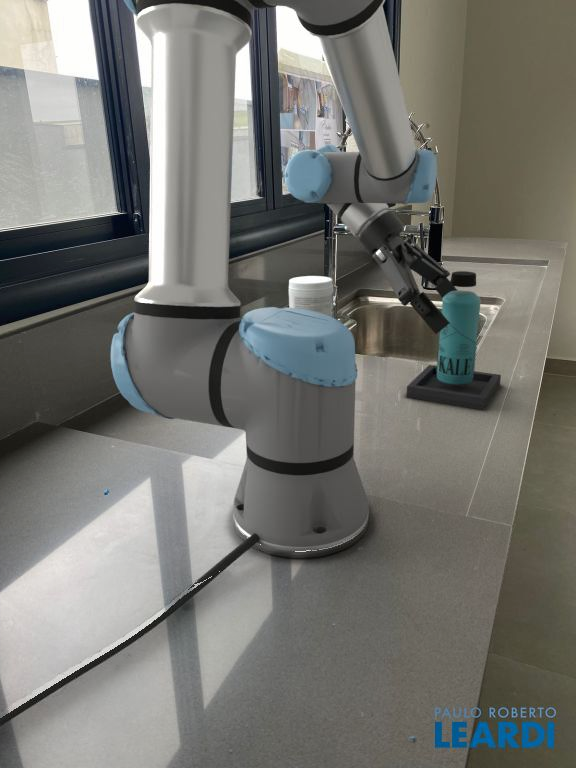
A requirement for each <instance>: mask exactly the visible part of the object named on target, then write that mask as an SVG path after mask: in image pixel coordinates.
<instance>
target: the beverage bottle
mask: <svg viewBox="0 0 576 768" xmlns="http://www.w3.org/2000/svg"><path fill="white" fill-rule="evenodd" d="M450 275H451V276H450V280H449V281H450V285H452V286H454V287H455V288H456V287H457V288H472V287H476V286H477V273H476V272H473V271H466V270H460V271H459V270H458V271H453V272H451V274H450ZM457 290H458V289H457ZM441 301H442V302H441V303H442V304H441V305H442V306H441V313H442V314H443V315H444V317H445V318H446V319H447V320H448V321H449V322H450V323H449V324H448V325H447V326H446V327H444V328H443V329H442V330H441V331H439V338H438V343H437V345H438V347H437V349H438V350H437V354H436V365H435V366H436V369H437V371H436V372H437V374H436V375H437V378H438V380H440V381H442V382H445V383H449V384H467V383H470V382H471V381H472V380H473V378H474V377H473V376H474V374H475V373H474V371H475V369H476V366H477V365H476V359H477V357H476V356H477V352H478V351H477V350H478V349H477V346H478V343H477V340H478V330H479V321H480V313H481V304H482V299H481V298H480V297H479V296H478V294H477V293H476V292H474V291H470V290H458V291H451V292H449V293H447V294H446V295H445V296H444V297H443V298H441Z"/></svg>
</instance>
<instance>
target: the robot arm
mask: <svg viewBox="0 0 576 768" xmlns="http://www.w3.org/2000/svg"><path fill="white" fill-rule="evenodd" d="M123 1H124V3H125V5H126V7H127V8H128V9H129V10H130V11H131V13H132V14H133V15H134V16H135V17H136V19H135V21H136V27H137V29H138V30H139V32H140V33H141V34H142V35H143V36H144V37H145V38H146V40H147V41H148V42H149V44H150V45H151V63H150V64H151V66H150V67H151V68H150V69H151V72H150V74H151V79H150V153H149V154H150V156H149V157H150V158H149V159H150V160H149V168H150V169H149V232H148V233H149V235H148V236H149V238H148V241H149V243H148V282H147V284H146V286H145V287H144V288H143V289H142V290H140V291H139V292H138V293H137V294H136V295H135V296H134V301H133V312H132V313H128V314H127V315H126V316H124V318H123V319H122V320H121V321H119V323H118V326H117V331H118V332H116V333H114V334H113V336H112V339H111V345H110V364H111V365H110V367H111V371H112V376H113V380H114V381H115V385H116V387H117V389H118V391H119V392H120V394H121V396H122V397H123V398H124V399H125V400H126V401H128V403H129V405H131V406H132V407H134V408H135V409H137V410H138V411H142V412H144V413H149V414H153V415H156V416H158V417H160V418H163V419H168V420H176V419H177V420H184V421H189V422H196V423H200V424H208V425H213V426H219V427H224V428H225V427H226V428H231V429H236V430H240V431H241V430H242V431H244V432H245V445H246V447H245V448H246V449H245V450H246V460H245V463H244V467H243V470H242V472H241V476H240V480H239V483H238V486H237V489H236V492H235V494H234V495H235V496H234V498H233V504H232V505H233V507H232V520H233V521H232V522H233V526H234V530H235V532H236V533H237V536H239V538H240V539H241V540H242V541H243V542H241V543H240V544H238V545H237V546H236V547H235V548H234V549H233V550H232V551H230V552H229V553H228V554H227V555H225V556H224V557H223V558H222V559H221V560H219V561H218V562H217V563H216V564H215V565H213V566H212V567H211V568H210V569H209V570H208V571H206V572H205V573H204V574H203V575H202V576H200V577H199V578H198V579H196V581H197V582H196V581H194V582H195V583H194V582H193V583H194V584H197V583H200V582H203V581H204V580H206V579H207V580H206V581H204V582H203V583H201V584H200V585H198V586H197V587H196V588H194V589H193V590H192V591H190V592H189V593H187V594H186V595H184V596H183V597H182V598H181V599H179V600H178V601H177V602H176V603H175V604H174V605H172V606H171V607H170V608H169V609H168V610H167V611H166V612H164V613H163V614H162V615H161V616H160V617H158V618H157V619H156V620H154V621H153V622H152V623H151V624H149V625H148V626H146V627H145V628H144V629H142V630H141V631H139V632H138V633H137V634H135V635H134V636H132V637H131V638H129V639H128V640H126V641H125V642H123V643H121V644H120V645H118V646H117V647H115V648H114V649H112V650H110V651H109V652H107V653H105V654H104V655H102V656H100V657H99V658H97V659H95V660H94V661H92V662H90V663H89V664H87V665H85V666H84V667H82V668H80V669H79V670H77V671H75V672H74V673H72V674H71V675H69V676H67V677H66V678H64V679H62V680H61V681H59V682H58V683H56V684H54V685H53V686H51V687H50V688H48V689H46V690H45V691H43V692H42V693H40V694H38V695H37V696H35V697H34V698H32V699H30V700H29V701H27V702H26V703H24V704H22V705H21V706H19V707H18V708H16V709H14V710H13V711H11V712H10V713H8V714H6V715H5V716H3V717H2V718H0V727H2V726H4V725H5V724H7V723H8V722H9V721H11V720H12V719H15V718H16V717H18V716H19V715H21V714H22V713H24V712H25V711H27V710H28V709H30V708H32V707H33V706H35V705H37V704H38V703H39V702H41V701H43V700H45V699H46V698H47V697H49V696H51V695H52V694H53V693H56V692H57V691H59V690H60V689H62V688H63V687H65V686H67V685H69V683H71V682H73V681H75V680H77V679H78V678H79V677H82V676H83V675H85V674H86V673H87V672H89V671H91V670H92V669H94V668H96V667H98V666H99V665H102V663H104V662H106V661H108V660H109V659H110V658H112V657H114V656H115V655H118V653H120V652H121V651H123V650H125V649H127V647H129V646H131V645H132V644H134V643H135V642H136V641H138V640H139V639H141V638H143V637H144V636H145V635H147V634H148V633H149V632H150V631H152V630H153V629H155V628H156V627H157V626H159V625H160V624H161V623H162V622H164V621H166V620H167V619H168V618H169V617H170V616H171V615H173V614H174V613H175V612H176V611H178V610H179V609H180V608H181V607H182V606H184V605H185V604H186V603H187V602H188V601H189V600H191V599H192V598H193V597H194V596H196V594H198V593H199V592H200V591H201V590H203V589H204V588H205V587H206V586H207V585H209V584H210V583H211V582H212V581H213V580H214V579H216V578H217V577H218V576H220V574H222V573H223V572H224V571H225V570H227V568H229V566H231V565H232V564H233V563H234V562H236V561H237V560H238V559H239V558H240V557H242V556H243V555H244V554H245V553H247V551H249V550H250V549H251V548H254V549H256V550H258V551H261V552H263V553H265V554H269V555H273V556H278V557H284V558H290V559H291V558H293V559H296V558H297V559H309V558H319V557H324V556H328V555H332V554H335V553H338V552H340V551H343V550H346V549H348V548H349V547H351V546H352V545H354V544H355V543H357V542H358V541H359V540H360V539H361V538H362V537H363V536H364V534H365V533H366V531H367V529H368V527H369V526H368V525H369V520H370V519H369V517H370V516H369V515H370V514H369V513H370V508H369V501H368V497H367V494H366V491H365V488H364V485H363V482H362V479H361V476H360V472H359V470H358V467H357V463H356V461H355V458H354V457H355V455H354V454H355V453H354V452H355V451H354V447H355V415H356V380H357V379H358V366H357V363H356V342H355V338H354V335H353V333H352V331H351V330H350V328H348V326H346V325H345V324H344V323H343V322H342V321H340V320H338V319H336V318H335V317H333V318H332V317H330V316H327V315H325V314H321V313H318V312H314V311H310V310H304V309H298V308H289V307H283V308H281V307H276V306H269V307H260V308H255V309H251V310H250V311H248V312H246V313H245V314H244V315H243V316H242V318H241V304H242V303H241V301H240V299H239V298H238V297H237V296H236V295H235V294H234V293H233V292H232V290H231V288H230V287H229V266H230V265H229V260H230V236H231V207H232V206H231V205H232V183H233V182H232V181H233V180H232V179H233V176H232V175H233V153H234V150H233V148H234V124H235V123H234V122H235V121H234V120H235V99H236V98H235V97H236V95H235V94H236V68H237V67H236V65H237V54H238V53H239V52H240V51H241V50H242V49H244V47H245V46H247V45H248V44H249V43H250V41H251V39H252V32H253V31H252V29H253V13H254V11H255V10H263V9H269V8H270V9H271V8H276V7H286V8H289V9H291V10H293V11H294V12H295V13H296V17H297V19H298V21H299V23H300V25H301V27H302V28H303V30H304V31H305V32H306V33H308V34H310V35H311V36H314V37H315V38H316V41H317V44H318V46H319V49H320V51H321V53H322V57H323V59H324V62H325V65H326V68H327V70H328V73H329V75H330V78H331V81H332V83H333V86H334V88H335V91H336V94H337V97H338V99H339V101H340V104H341V107H342V109H343V112H344V115H345V118H346V121H347V123H348V126H349V128H350V131H351V134H352V136H353V139H354V142H355V144H356V147H357V149H358V151H341V150H340V149H339V148H338V147H337V146H336V145H334V144H332V143H331V144H330V143H327V144H325V145H323V146H321V147H319V148H317V149H304V150H303V149H302V150H300V151H298V152H296V153H294V154H293V155H292V156H291V157H290V160H288V162H287V163H286V167H285V169H284V183H285V186H286V188H287V190H288V192H289V193H290V195H291V196H293V198H295V199H297V200H299V201H302V202H303V203H306V204H310V203H312V204H316V203H317V204H325V205H326V206H328V208H329V209H330V210H331V211H332V212H333V214H335V216H336V217H337V218H338V219H339V220H340V221H341V223H342V224H343V225H344V230H345V231H347V232H350V233H351V234H352V236H353V237H354V238H358V243H359V244H360V246H362V248H363V249H364V250H365V251H366V252H367V254H368V255H369V256H372V258H373V260H375V262H376V263H377V265H378V266H379V268H380V269H381V271H382V272H383V275H384V276H385V278H386V280H387V282H388V284H389V285H390V287H391V289H392V291H393V292H394V295H395V297H396V298H397V300H398V301H399V302H400V304H401V305H402V306H404V307H406V306H407V305H408V304H410V307H412V308H413V309H414V311H416V313H417V314H418V315H419V316H420V318H421V319H422V320H423V322H425V323H426V325H427V326H428V327H429V328H430V329H431V331H432V332H433V333H434V334H435V335H437V334H438V333H440V331H441V330H442V329H443V328H444V327H446V326H447V325H448V324H449V323H450V322H449V321H448V320H447V319H446V318H445V317H444V315H443V314H442V311H440V309H439V308H438V307H437V306H436V305H435V303H433V301H432V300H431V298H429V296H428V295H427V294H426V293H425V292H424V291H422V292H421V291H420V289H419V286H418V284H417V281H416V279H415V277H414V274H413V272H414V273H416V274H417V275H419V276H420V277H422V278H423V279H425V280H426V281H428V282H429V283H431V284H432V285H433V286H435V287H434V290H435V291H436V292H437V293H438V294H439V295H440V296H441V297H442V298H441V299H443V297H444V296H445V295H446V294H447V293H449V292H451V291H458V288H456V286H452V285H450V281H451V280H450V279H449V278H448V277H449V276H450V275H451V272H450V270H448V269H445V268H444V267H443V265H441V264H440V263H438V262H437V261H436V260H435V259H434V258H432V257H431V255H429V254H428V253H427V252H426V251H425V250H423V248H421V247H420V246H419V245H418V244H417V243H416V242H415V241H414V240H413V239H412V237H410V236H408V237H406V238H405V239H404V238H402V237H401V236H400V235H401V233H402V232H403V231H404V228H405V225H404V223H403V221H401V220H400V218H399V217H398V216H397V215H396V214H395V212H394V211H392V210H389V204H393V205H394V204H396V205H397V204H398V205H399V204H400V205H405V206H406V205H408V204H425V203H428V202H429V201H430V200H431V199H432V198H433V196H434V193H435V189H436V186H437V185H436V184H437V177H438V174H437V173H438V164H437V156H436V154H435V152H434V151H432V150H430V149H422V148H416V144H415V139H414V134H413V131H412V126H411V122H410V118H409V113H408V109H407V105H406V102H405V95H404V93H403V92H404V91H403V88H402V83H401V79H400V75H399V71H398V70H399V69H398V67H397V66H398V65H397V62H396V57H395V54H394V49H393V46H392V40H391V36H390V32H389V28H388V23H387V19H386V14H385V11H384V7H383V6H384V4H385V2H386V0H123ZM412 271H413V272H412ZM234 522H235V523H234ZM366 523H367V524H366ZM235 524H236V525H235ZM365 525H366V526H365ZM236 526H237V527H236ZM364 526H365V527H364ZM363 528H364V529H363ZM362 529H363V530H362ZM239 530H240V531H241V532H242V533H243V534H244V535H243V534H242V533H241V532H240V531H239ZM361 530H362V531H361ZM360 531H361V532H360ZM359 532H360V533H359ZM358 533H359V534H358ZM357 534H358V535H357ZM355 535H357V536H355ZM353 536H355V537H354V538H353V539H351V540H349V541H347V542H345V543H343V541H346V540H348V539H350V538H352V537H353ZM247 537H248V538H247ZM340 543H343V544H341V545H338V546H335V547H332V546H334V545H337V544H340ZM260 544H261V545H260ZM330 546H331V547H332V548H328V547H330ZM323 548H328V549H323ZM319 549H323V550H319ZM306 550H311V551H306ZM312 550H317V551H312ZM295 551H306V552H295ZM219 571H220V572H219ZM211 576H212V577H211ZM209 577H211V578H209ZM208 578H209V579H208ZM193 583H192V584H193ZM192 584H191V585H192ZM194 584H193V585H192V586H191V585H190V586H191V587H190V588H192V587H194V586H195V585H194ZM190 588H189V589H190ZM189 589H188V590H189ZM180 594H181V593H179V594H178V595H177V596H179V595H180ZM174 599H175V598H173V599H172V600H174Z"/></svg>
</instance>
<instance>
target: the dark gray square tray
mask: <svg viewBox="0 0 576 768" xmlns="http://www.w3.org/2000/svg"><path fill="white" fill-rule="evenodd" d="M436 371H437V369H436V365H434V364H428V365H427V366H426V367H425V368H424V369H423V370H422V371H421V372H420V373H419V374H418V375H417V376H416V377H415V378H413V380H412V381H411V382H410V383H409V384H408V385H407V386H406V395H405V396H406V398H410V399H416V400H421V401H427V402H433V403H440V404H445V405H450V406H457V407H463V408H469V409H474V410H475V409H476V410H481V411H485V410H486V408H487V406H488V405H489V403H490V401H491V400H492V398H493V397H494V396H495V394H496V392H497V390H498V389H499V387H500V386H501V379H502V378H501V377H502V374H498V373H490V372H483V371H477V370H474V373H475V374H474V376H473V377H474V378H473V380H472V381H471V382H470V383H467V384H449V383H445V382H442V381H440V380H438V378H437V375H436V374H437V372H436Z"/></svg>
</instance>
